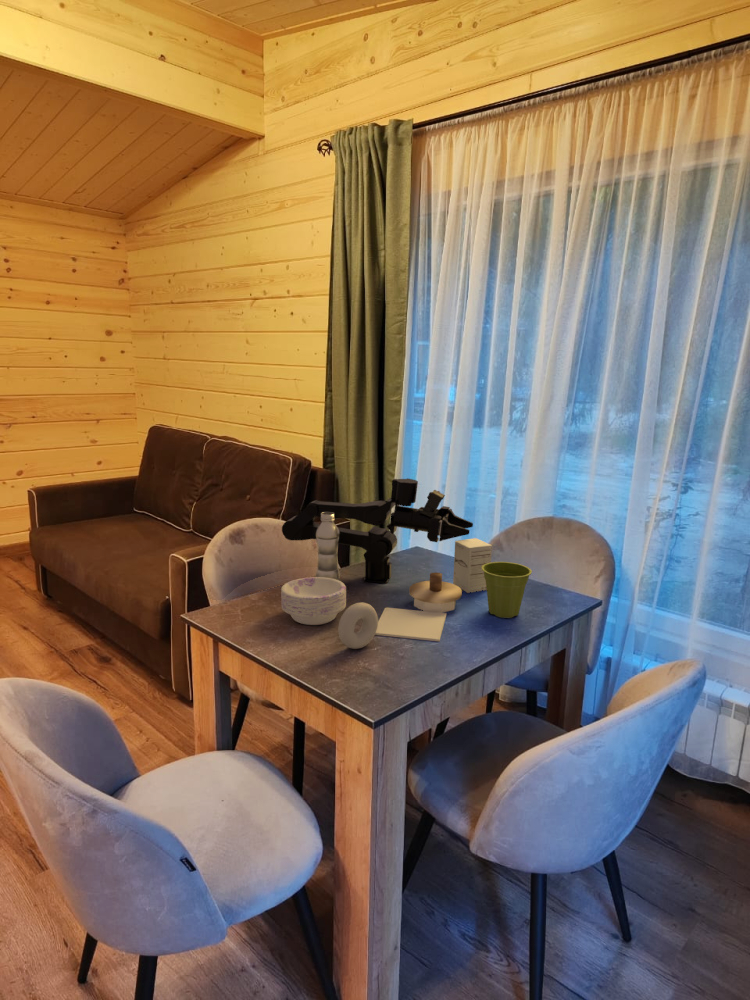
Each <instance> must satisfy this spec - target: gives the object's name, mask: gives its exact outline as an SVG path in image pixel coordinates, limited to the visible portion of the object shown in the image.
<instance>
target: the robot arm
mask: <svg viewBox="0 0 750 1000" xmlns="http://www.w3.org/2000/svg"><path fill="white" fill-rule="evenodd" d="M418 484H419V481H418V480H416V479H413V478H393V479H392V480H391V495H390V497H389V498H388V499H387V500H376V501H375V500H374V501H373V500H372V501H367V502H363V503H349V502H333V501H321V500H318V499H316V500H313V501H311V502H309V503H308V504H307V505H306V507H305V508H303V510H302V511H301V512H299V513H298V514H297V515H295V516H292V517H291V518H290V519H288V520H286V521H285V522H284V523H283V524H282V525H281V532H282V536H284V538H285V539H286V540H287V541H308V540H316V530H317V528H318V526H319V525H320V524H321V523H318V522H316V521H314V520H315V519H316V518H318V517H319V518H321V513H323V512H333V513H334V518H335V519H347V520H348V519H349V520H357V521H359V522H361V523H363V524H367V525H369V526H370V525H372V527H371V528H370V529H369V531H361V530H356V529H351V528H344V527H338V526H337V528H338V529H339V541H338V545H339V544H341V545H344V546H345V545H346V546H351V547H356V548H357V547H358V548H361V549H363V550H365V552H364V554H363V558H364V560H365V563H364V564H365V567H364V570H365V571H364V573H365V574H364V575H365V576H364V578H363V582H365V583H366V582H369V583H379V584H387V582H388V581H390V579H391V578H392V562H390V560H391V559H390V558H391V557H390V556H388V555H390V554H392V552H393V551H394V549H395V548H396V547H397V544H398V538H397V536H396V534H395V532H396V531H397V528H402V529H408V530H412V531H413V532H415V533H418V532H425V533H426V534H427V535H426V538H427V539H428V540H429V542H432V543H433V542H434V543H438V541H439V542H442V541H446V540H450V539H454V538H458V537H464V536H467V535H469V534H470V529H471V528H473V527H474V523H473V522H472V521H469V520H467V519H464V518H462V517H461V516H458V515H456V514H455V513H454V512H453V509H452V508H451V507H450V506H446V505H445V506H443V505H442V507H440V508H438V507H439V506H440V503H441V502H442V500H444V498H445V496H446V495H445V494H444V493H441V491H440V490H436V489H434V490H432V491H430V492H429V493H428V496H427V497H426V498H427V501H426V503H425V504H424V506H421V507H419V508H414V507H411V506H412V504H414V503H416V502H417V500H416V499H417V493H418ZM393 508H394V511H393V512H392V509H393ZM387 520H390V521H389V523H388V524H387V525H386V527H385V528H383V527H379V526H382V525H383V524H384V523H385V522H387ZM469 528H470V529H469Z"/></svg>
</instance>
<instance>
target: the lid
mask: <svg viewBox="0 0 750 1000" xmlns="http://www.w3.org/2000/svg"><path fill="white" fill-rule="evenodd" d="M408 591H409V592H408V594H409V596H410V597H412V598H415V599H417V600H420V601H423V602H429V603H448V602H453V601H456V602H457V601H458V600H460V599H462V595H463V594H462V592H463V590H462V589H461V588H460V587H458V586H457V585H454V584H453V583H452V582H447V581H443V573H441V572H436V571H435V572H434V571H433V572H431V573H429V580H424V581H418V582H415V583H413V584H411V585H410V586H409V589H408Z"/></svg>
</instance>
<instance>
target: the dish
mask: <svg viewBox="0 0 750 1000" xmlns="http://www.w3.org/2000/svg"><path fill="white" fill-rule="evenodd" d="M456 604H457V600H456V601H453V602H448V603H429V602H423V601H420V600H417V599H415V598H414V599H413V607H415V608H417V609H418V610H420V611H422V610H423V611H428V612H439V613H447V612H450V611H451V612H452V611H454V610H455V608H456Z"/></svg>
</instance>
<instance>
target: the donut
mask: <svg viewBox="0 0 750 1000" xmlns="http://www.w3.org/2000/svg"><path fill="white" fill-rule="evenodd" d="M359 620H362V625H361V627H360V629H359V630H358V631H357V632H355V627H356V625H357V622H359ZM378 621H379V616H378V614H377V611H376V610H375V608H374V607H373V606H372V605H371V604H369V603H366V602H356V603H354V604H351V605H350V606H348V608H346V609H345V610H344V612H343V614H342V615H341V617H340V619H339V622H338V628H337V631H338V638H339V639H340V641H341V643H342V644H343V645H345V646H346V647H347V648H349V649H354V650H357V649H362V648H364V647H366V646H367V645H368V644H369V643H371V642H372V640H373V638H374V637H375V636H376V635H375V633H376V630H377V627H378Z"/></svg>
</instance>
